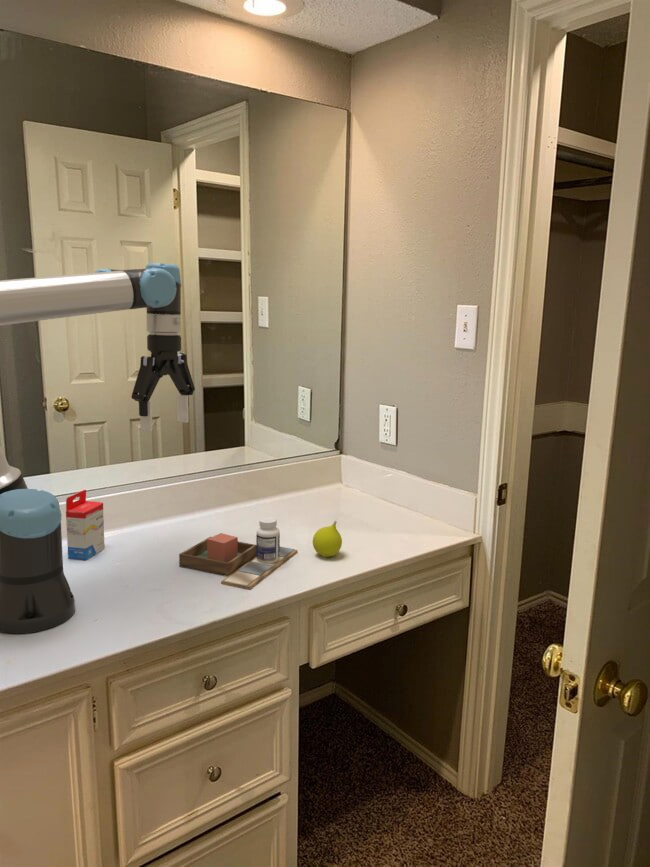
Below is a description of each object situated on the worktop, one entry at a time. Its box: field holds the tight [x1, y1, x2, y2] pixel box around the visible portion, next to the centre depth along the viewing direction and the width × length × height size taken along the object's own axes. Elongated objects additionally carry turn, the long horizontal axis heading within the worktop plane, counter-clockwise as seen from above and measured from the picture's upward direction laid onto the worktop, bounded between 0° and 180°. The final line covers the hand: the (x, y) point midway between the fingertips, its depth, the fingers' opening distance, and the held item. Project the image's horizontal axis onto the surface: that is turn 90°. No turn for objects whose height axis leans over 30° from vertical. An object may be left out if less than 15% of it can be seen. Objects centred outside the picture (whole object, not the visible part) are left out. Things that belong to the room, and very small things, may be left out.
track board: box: [220, 546, 298, 590], centre depth 151 cm, size 24×7×1 cm, turn 157°
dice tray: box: [178, 536, 256, 577], centre depth 153 cm, size 13×13×3 cm
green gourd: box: [312, 519, 343, 558], centre depth 158 cm, size 7×7×10 cm
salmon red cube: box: [206, 532, 239, 562], centre depth 154 cm, size 5×5×5 cm
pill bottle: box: [255, 516, 281, 563], centre depth 152 cm, size 5×5×10 cm
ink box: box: [65, 489, 106, 561], centre depth 155 cm, size 8×5×15 cm, turn 168°
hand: (165, 426), depth 152 cm, fingers open, 13 cm apart
